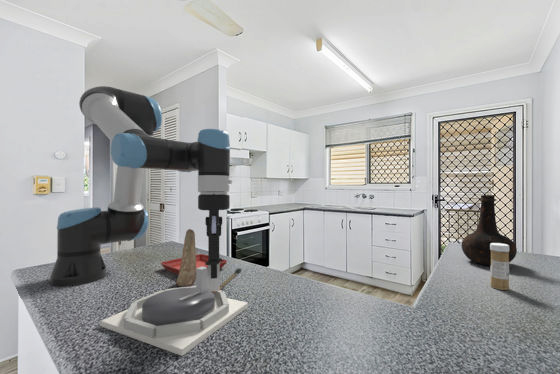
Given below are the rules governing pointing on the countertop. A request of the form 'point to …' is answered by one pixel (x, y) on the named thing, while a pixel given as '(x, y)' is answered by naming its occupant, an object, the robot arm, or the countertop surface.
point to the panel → (180, 339)
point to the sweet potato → (188, 261)
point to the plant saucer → (200, 261)
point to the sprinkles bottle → (499, 266)
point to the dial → (180, 303)
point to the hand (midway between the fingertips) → (213, 289)
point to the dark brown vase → (486, 235)
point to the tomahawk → (230, 278)
